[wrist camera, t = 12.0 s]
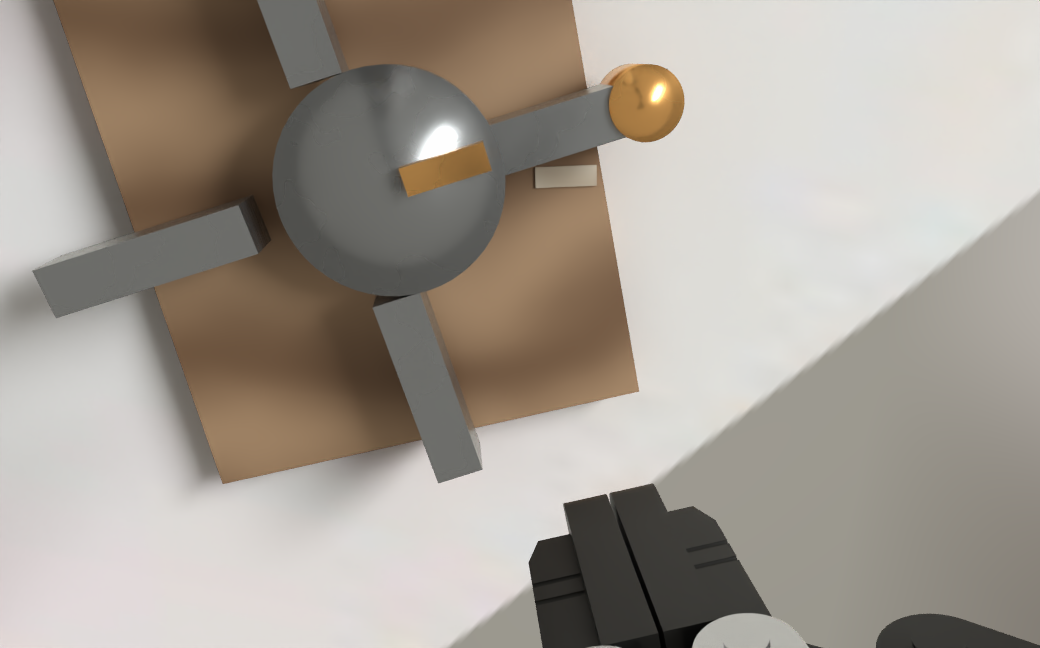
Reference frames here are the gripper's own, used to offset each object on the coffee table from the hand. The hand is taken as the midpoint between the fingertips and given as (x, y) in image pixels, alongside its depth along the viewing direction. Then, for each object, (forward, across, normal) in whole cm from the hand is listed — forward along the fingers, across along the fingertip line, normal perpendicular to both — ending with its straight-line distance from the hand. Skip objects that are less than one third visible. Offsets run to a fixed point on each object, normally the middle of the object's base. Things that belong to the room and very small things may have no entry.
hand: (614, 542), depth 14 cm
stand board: (+23, +5, -4) cm, 24 cm away
